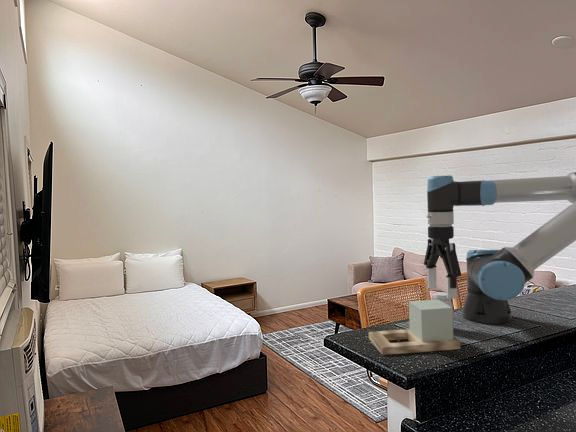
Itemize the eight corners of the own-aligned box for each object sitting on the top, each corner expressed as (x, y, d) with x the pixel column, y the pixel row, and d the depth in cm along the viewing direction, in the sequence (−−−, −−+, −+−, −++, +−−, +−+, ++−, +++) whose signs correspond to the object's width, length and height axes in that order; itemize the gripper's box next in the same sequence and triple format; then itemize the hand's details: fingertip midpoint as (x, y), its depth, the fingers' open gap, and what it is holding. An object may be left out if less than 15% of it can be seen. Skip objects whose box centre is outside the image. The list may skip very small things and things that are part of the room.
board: (439, 333, 127) (438, 326, 127) (460, 348, 114) (460, 341, 114) (368, 338, 125) (368, 331, 125) (382, 354, 112) (382, 347, 112)
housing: (438, 329, 125) (438, 299, 125) (453, 339, 116) (452, 307, 116) (409, 331, 124) (408, 301, 124) (422, 341, 115) (421, 309, 115)
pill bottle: (455, 332, 127) (454, 296, 127) (434, 331, 129) (433, 296, 128) (451, 326, 133) (450, 291, 133) (431, 325, 135) (430, 291, 134)
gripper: (413, 223, 141) (414, 285, 143) (447, 229, 117) (448, 304, 118) (434, 222, 142) (435, 283, 143) (473, 228, 117) (474, 302, 118)
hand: (441, 293), depth 131 cm, fingers open, 13 cm apart
